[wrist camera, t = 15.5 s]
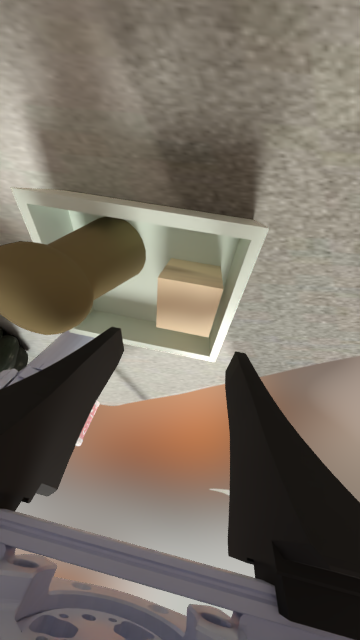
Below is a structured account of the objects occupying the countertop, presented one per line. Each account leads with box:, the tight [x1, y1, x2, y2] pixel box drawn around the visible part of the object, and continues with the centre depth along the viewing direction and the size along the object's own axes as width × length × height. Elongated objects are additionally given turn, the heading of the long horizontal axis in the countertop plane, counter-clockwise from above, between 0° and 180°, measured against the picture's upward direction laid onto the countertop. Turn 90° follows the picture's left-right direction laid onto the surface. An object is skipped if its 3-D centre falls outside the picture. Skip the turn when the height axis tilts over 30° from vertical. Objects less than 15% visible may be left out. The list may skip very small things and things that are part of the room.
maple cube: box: [156, 258, 223, 337], centre depth 16 cm, size 5×5×5 cm
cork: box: [0, 216, 146, 335], centre depth 12 cm, size 6×6×11 cm
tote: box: [10, 187, 269, 362], centre depth 17 cm, size 14×18×5 cm
